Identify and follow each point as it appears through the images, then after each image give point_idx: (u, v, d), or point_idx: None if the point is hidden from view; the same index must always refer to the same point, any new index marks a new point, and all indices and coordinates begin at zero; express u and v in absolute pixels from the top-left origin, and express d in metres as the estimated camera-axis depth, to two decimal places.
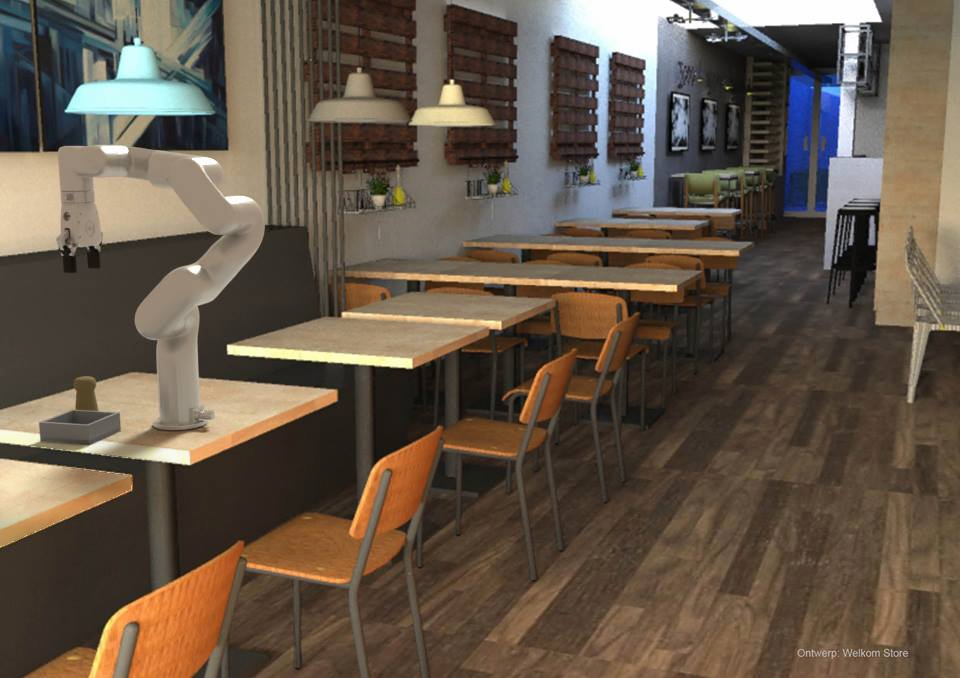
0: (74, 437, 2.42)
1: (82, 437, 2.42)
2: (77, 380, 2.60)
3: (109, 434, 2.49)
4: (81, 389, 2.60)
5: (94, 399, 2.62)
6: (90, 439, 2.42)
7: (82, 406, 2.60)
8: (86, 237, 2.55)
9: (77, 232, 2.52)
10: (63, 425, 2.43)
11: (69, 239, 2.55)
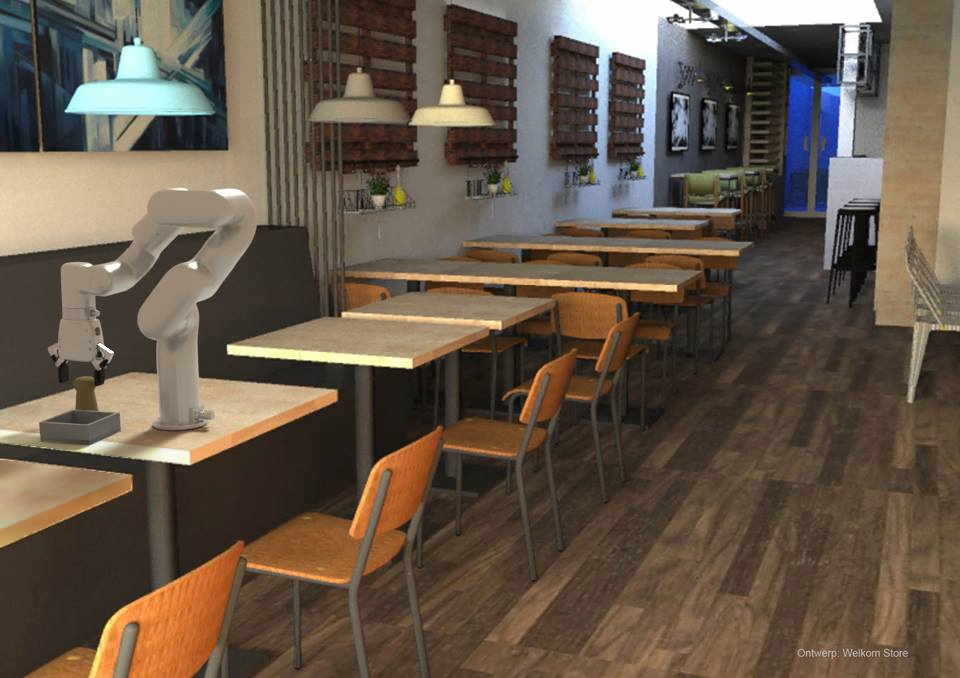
0: (74, 437, 2.42)
1: (82, 437, 2.42)
2: (77, 380, 2.60)
3: (109, 434, 2.49)
4: (81, 389, 2.60)
5: (94, 399, 2.62)
6: (90, 439, 2.42)
7: (82, 406, 2.60)
8: None
9: None
10: (63, 425, 2.43)
11: None
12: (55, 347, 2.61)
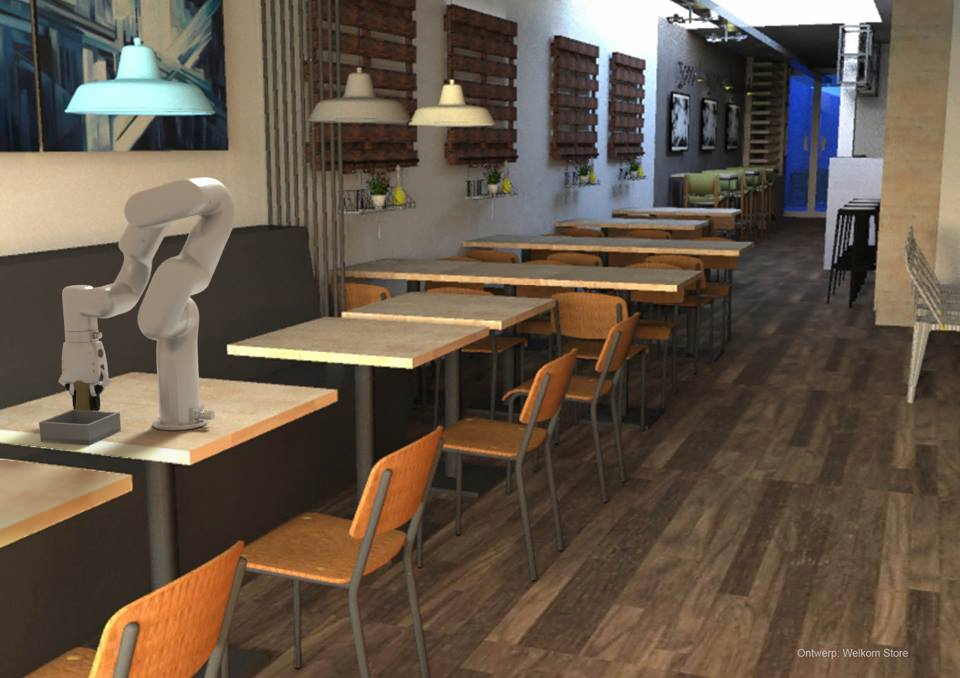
0: (74, 437, 2.42)
1: (82, 437, 2.42)
2: None
3: (109, 434, 2.49)
4: (81, 389, 2.60)
5: None
6: (90, 439, 2.42)
7: (82, 405, 2.60)
8: None
9: None
10: (63, 425, 2.43)
11: None
12: None
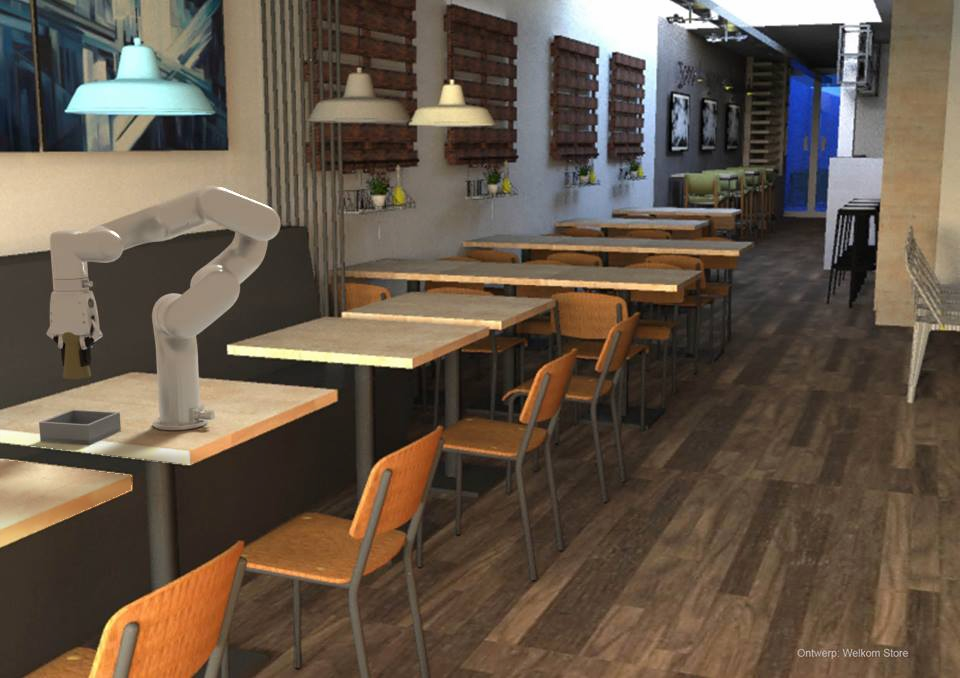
0: (74, 437, 2.42)
1: (82, 437, 2.42)
2: (66, 332, 2.43)
3: (109, 434, 2.49)
4: (70, 341, 2.43)
5: None
6: (90, 439, 2.42)
7: (71, 359, 2.44)
8: None
9: None
10: (63, 425, 2.43)
11: None
12: None
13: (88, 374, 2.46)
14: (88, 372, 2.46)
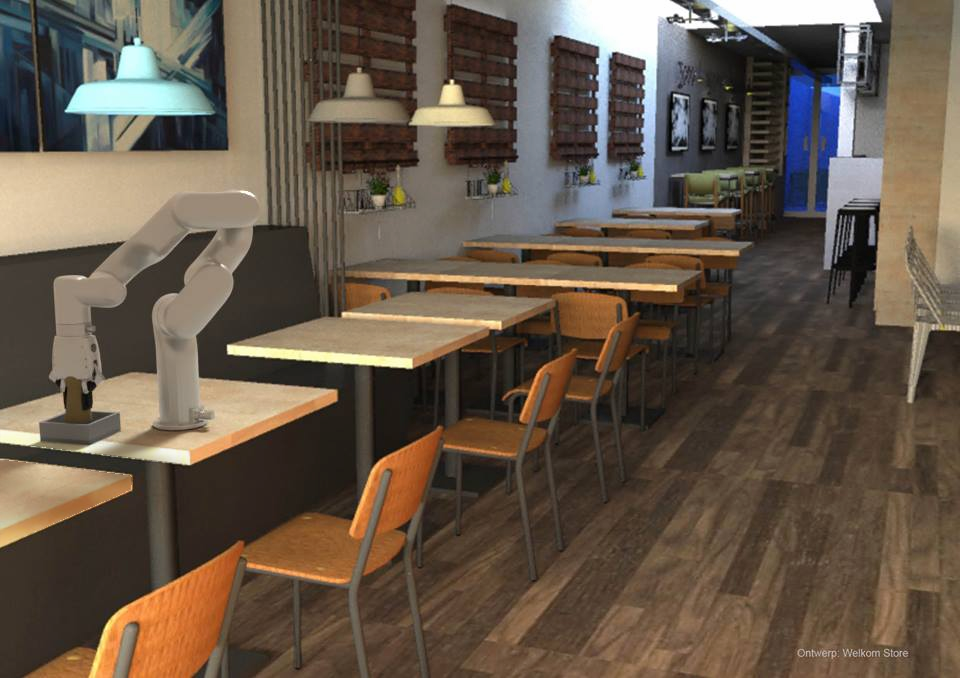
0: (74, 437, 2.42)
1: (82, 437, 2.42)
2: (68, 376, 2.45)
3: (109, 434, 2.49)
4: (72, 386, 2.45)
5: None
6: (90, 439, 2.42)
7: (73, 403, 2.45)
8: None
9: None
10: (63, 425, 2.43)
11: None
12: None
13: (90, 418, 2.48)
14: (90, 416, 2.48)
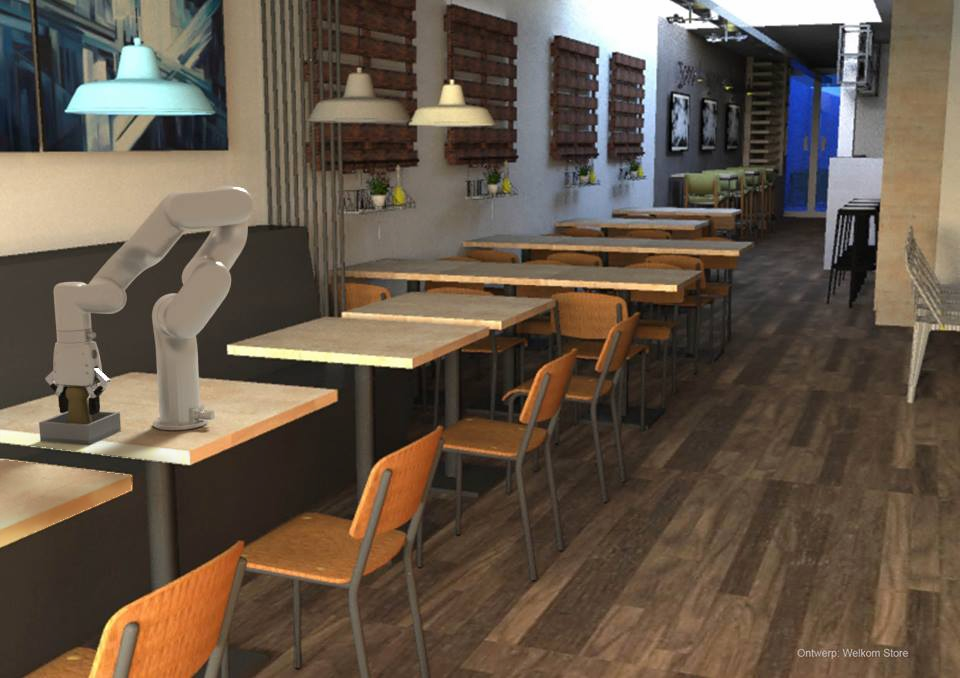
0: (74, 437, 2.42)
1: (82, 437, 2.42)
2: (69, 388, 2.46)
3: (109, 434, 2.49)
4: (73, 398, 2.46)
5: (87, 408, 2.48)
6: (90, 439, 2.42)
7: (74, 415, 2.46)
8: None
9: None
10: (63, 425, 2.43)
11: None
12: (52, 375, 2.48)
13: None
14: None
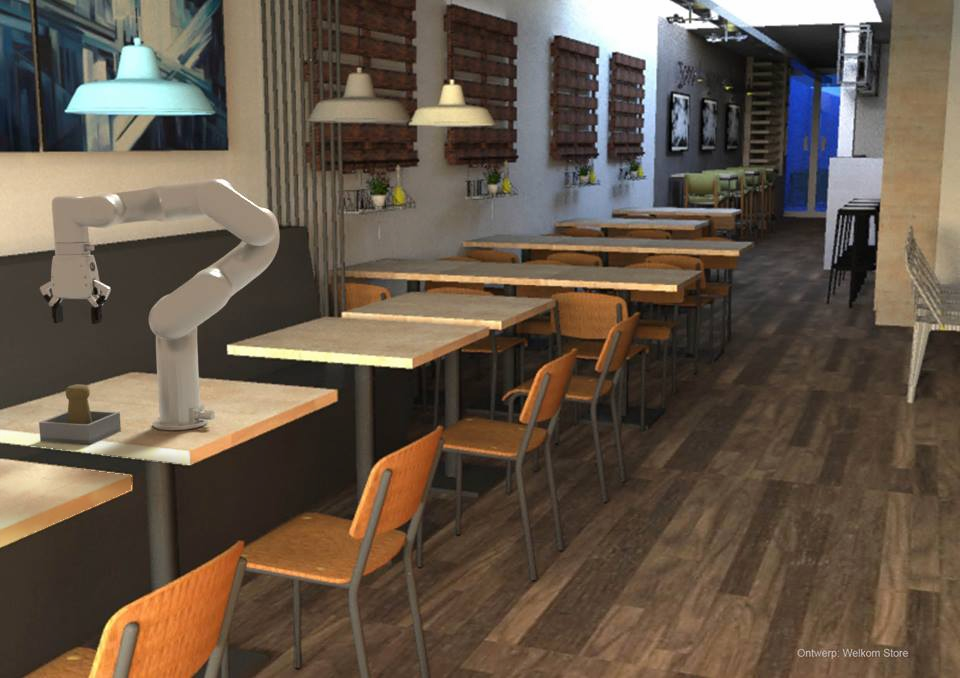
0: (74, 437, 2.42)
1: (82, 437, 2.42)
2: (69, 388, 2.46)
3: (109, 434, 2.49)
4: (73, 398, 2.46)
5: (87, 408, 2.48)
6: (90, 439, 2.42)
7: (74, 415, 2.46)
8: None
9: None
10: (63, 425, 2.43)
11: None
12: (48, 286, 2.51)
13: None
14: None
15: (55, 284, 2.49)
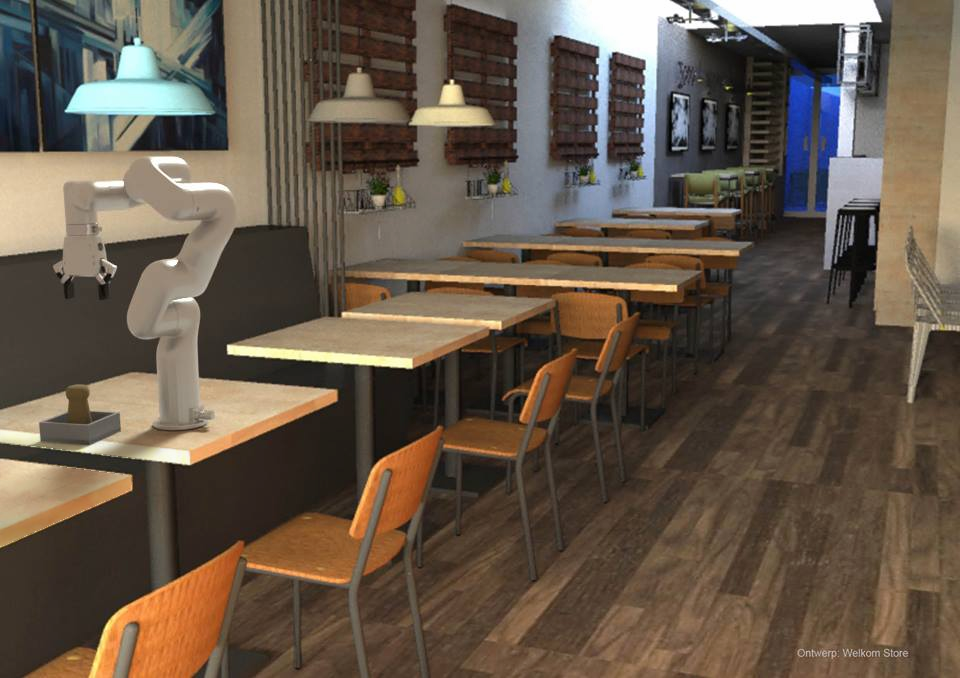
0: (74, 437, 2.42)
1: (82, 437, 2.42)
2: (69, 388, 2.46)
3: (109, 434, 2.49)
4: (73, 398, 2.46)
5: (87, 408, 2.48)
6: (90, 439, 2.42)
7: (74, 415, 2.46)
8: None
9: None
10: (63, 425, 2.43)
11: None
12: (60, 264, 2.71)
13: None
14: None
15: (66, 262, 2.69)
